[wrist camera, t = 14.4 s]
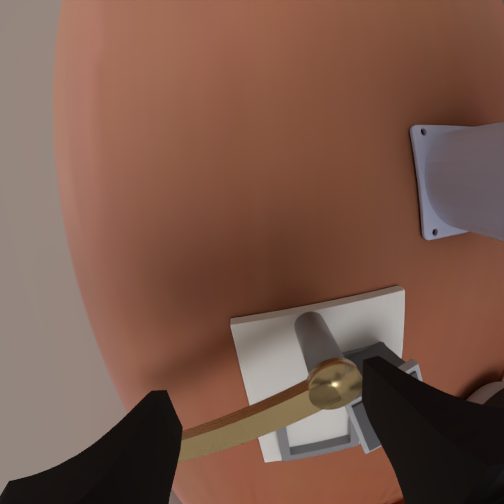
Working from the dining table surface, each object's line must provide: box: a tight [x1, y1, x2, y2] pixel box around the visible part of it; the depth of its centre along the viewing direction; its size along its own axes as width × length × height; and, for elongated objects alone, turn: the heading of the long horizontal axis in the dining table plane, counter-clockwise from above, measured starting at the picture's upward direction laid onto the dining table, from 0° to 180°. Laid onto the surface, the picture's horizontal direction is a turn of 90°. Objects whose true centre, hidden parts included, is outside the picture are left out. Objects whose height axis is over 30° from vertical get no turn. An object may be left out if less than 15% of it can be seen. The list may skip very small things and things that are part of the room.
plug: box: [345, 341, 423, 454], centre depth 16 cm, size 5×5×6 cm
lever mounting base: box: [230, 285, 405, 462], centre depth 18 cm, size 12×15×7 cm
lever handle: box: [178, 357, 363, 462], centre depth 14 cm, size 3×14×2 cm, turn 121°
